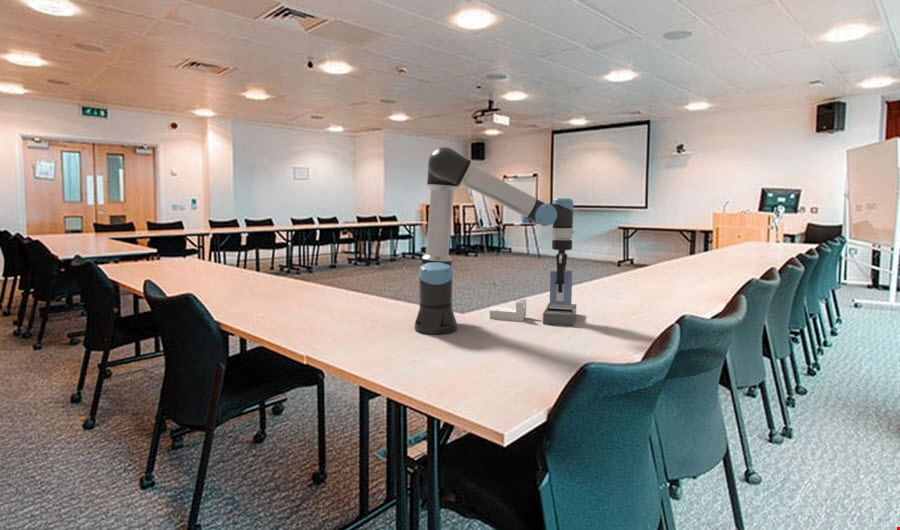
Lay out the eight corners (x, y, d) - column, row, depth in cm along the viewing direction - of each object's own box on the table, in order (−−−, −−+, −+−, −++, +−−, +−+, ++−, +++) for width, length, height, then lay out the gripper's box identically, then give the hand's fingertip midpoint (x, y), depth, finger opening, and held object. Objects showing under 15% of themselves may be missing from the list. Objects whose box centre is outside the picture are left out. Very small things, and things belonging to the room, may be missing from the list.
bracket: (525, 317, 213) (526, 299, 212) (522, 321, 206) (522, 302, 205) (494, 315, 217) (494, 297, 216) (489, 319, 210) (489, 300, 209)
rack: (542, 323, 202) (543, 312, 201) (548, 312, 222) (548, 302, 221) (573, 326, 198) (573, 314, 198) (576, 314, 219) (576, 303, 218)
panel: (549, 304, 206) (550, 271, 205) (550, 302, 210) (551, 269, 208) (570, 305, 204) (571, 271, 202) (571, 303, 207) (572, 270, 206)
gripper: (570, 241, 195) (568, 304, 198) (573, 237, 211) (571, 296, 214) (550, 240, 197) (548, 303, 200) (554, 237, 213) (552, 295, 216)
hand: (560, 299), depth 207 cm, fingers closed on panel, 3 cm apart
